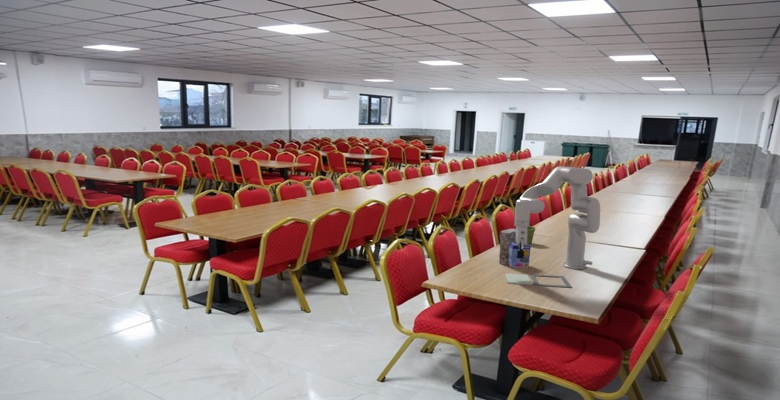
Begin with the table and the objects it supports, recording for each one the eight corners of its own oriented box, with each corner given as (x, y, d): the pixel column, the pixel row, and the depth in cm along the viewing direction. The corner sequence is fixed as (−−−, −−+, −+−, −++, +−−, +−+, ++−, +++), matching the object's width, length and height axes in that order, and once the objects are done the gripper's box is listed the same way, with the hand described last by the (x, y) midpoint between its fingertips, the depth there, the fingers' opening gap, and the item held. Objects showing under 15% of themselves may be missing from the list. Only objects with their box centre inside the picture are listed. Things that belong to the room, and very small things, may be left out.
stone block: (507, 266, 277) (510, 232, 274) (497, 263, 282) (499, 230, 278) (519, 261, 286) (521, 229, 283) (509, 259, 291) (511, 227, 288)
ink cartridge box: (511, 267, 249) (513, 240, 247) (507, 264, 255) (509, 238, 252) (529, 267, 250) (531, 240, 248) (525, 264, 255) (527, 238, 253)
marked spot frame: (563, 276, 260) (563, 276, 260) (572, 287, 243) (572, 287, 243) (529, 274, 262) (530, 274, 262) (535, 285, 245) (535, 285, 245)
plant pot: (520, 240, 339) (521, 224, 337) (537, 243, 332) (538, 227, 330) (514, 243, 330) (515, 227, 328) (531, 246, 323) (532, 230, 321)
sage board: (527, 276, 260) (527, 274, 260) (531, 284, 246) (531, 283, 246) (504, 274, 261) (504, 273, 261) (507, 283, 247) (508, 281, 247)
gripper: (532, 226, 240) (529, 261, 242) (526, 220, 256) (524, 252, 259) (516, 226, 240) (514, 260, 243) (512, 219, 257) (510, 251, 260)
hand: (519, 256), depth 251 cm, fingers closed on ink cartridge box, 6 cm apart
